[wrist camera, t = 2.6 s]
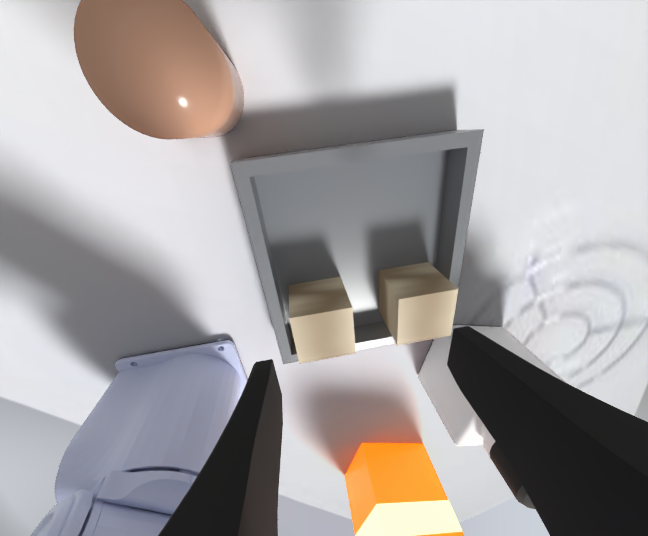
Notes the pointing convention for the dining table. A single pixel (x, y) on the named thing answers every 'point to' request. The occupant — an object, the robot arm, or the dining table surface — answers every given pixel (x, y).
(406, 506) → the orange juice
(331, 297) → the birch block
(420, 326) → the birch block
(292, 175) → the tray
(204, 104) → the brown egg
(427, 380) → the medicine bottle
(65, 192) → the dining table surface
